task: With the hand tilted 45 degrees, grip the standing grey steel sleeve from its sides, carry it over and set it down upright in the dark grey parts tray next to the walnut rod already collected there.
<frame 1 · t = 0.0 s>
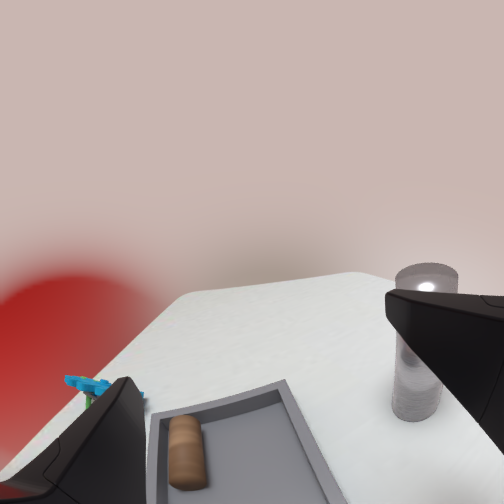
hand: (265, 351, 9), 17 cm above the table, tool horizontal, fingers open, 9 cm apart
rod: (192, 460, 20), point 1 cm above the table, touching tray
tray: (236, 477, 18), on the table
sleeve: (415, 402, 20), on the table
gear: (116, 409, 29), on the table
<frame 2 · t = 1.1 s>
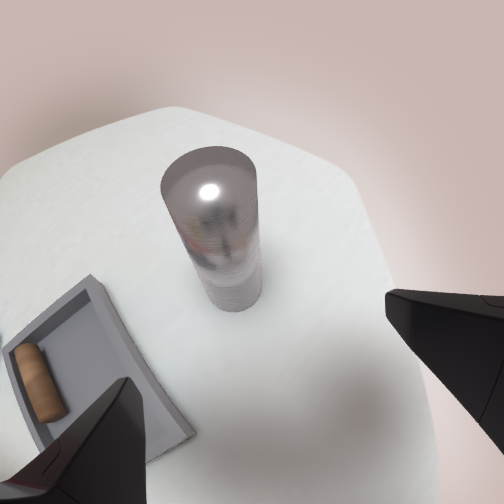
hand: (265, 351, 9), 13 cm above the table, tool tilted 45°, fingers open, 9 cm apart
rod: (48, 385, 19), point 1 cm above the table, touching tray
tray: (84, 393, 19), on the table
sleeve: (234, 286, 24), on the table
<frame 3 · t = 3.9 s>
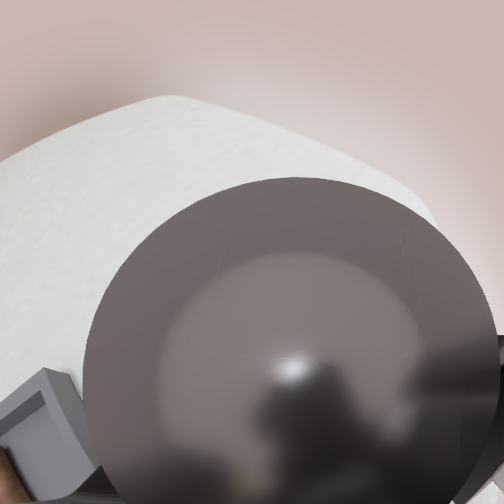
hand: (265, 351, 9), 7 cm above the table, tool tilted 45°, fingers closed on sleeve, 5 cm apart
rod: (21, 491, 8), point 1 cm above the table, tilted 5°, touching tray
sleeve: (273, 394, 14), on the table, touching gripper
when the fingers open (9 cm above the table, at t = 8.5 s): sleeve drops 2 cm, resting on tray.
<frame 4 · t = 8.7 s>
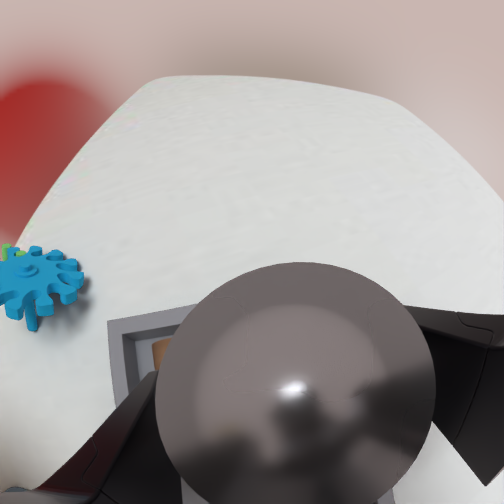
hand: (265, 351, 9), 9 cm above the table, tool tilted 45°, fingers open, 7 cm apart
rod: (180, 403, 15), point 1 cm above the table, tilted 31°, touching tray
tray: (247, 431, 15), on the table
sleeve: (273, 395, 15), point 1 cm above the table, touching tray
gear: (51, 294, 20), on the table
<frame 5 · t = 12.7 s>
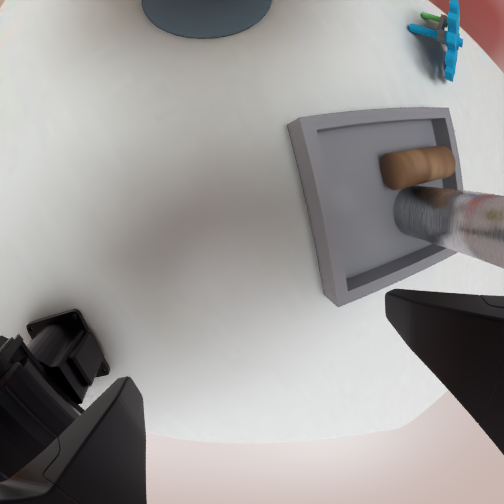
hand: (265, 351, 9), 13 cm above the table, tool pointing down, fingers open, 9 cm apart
rod: (411, 151, 21), point 1 cm above the table, tilted 58°, touching tray
tray: (389, 192, 22), on the table
sleeve: (411, 210, 23), point 1 cm above the table, touching tray
gear: (430, 46, 20), on the table
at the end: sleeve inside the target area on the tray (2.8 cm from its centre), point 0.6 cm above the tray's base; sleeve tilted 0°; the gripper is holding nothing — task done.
